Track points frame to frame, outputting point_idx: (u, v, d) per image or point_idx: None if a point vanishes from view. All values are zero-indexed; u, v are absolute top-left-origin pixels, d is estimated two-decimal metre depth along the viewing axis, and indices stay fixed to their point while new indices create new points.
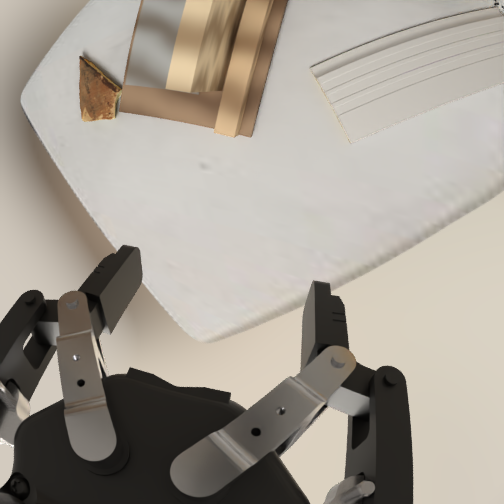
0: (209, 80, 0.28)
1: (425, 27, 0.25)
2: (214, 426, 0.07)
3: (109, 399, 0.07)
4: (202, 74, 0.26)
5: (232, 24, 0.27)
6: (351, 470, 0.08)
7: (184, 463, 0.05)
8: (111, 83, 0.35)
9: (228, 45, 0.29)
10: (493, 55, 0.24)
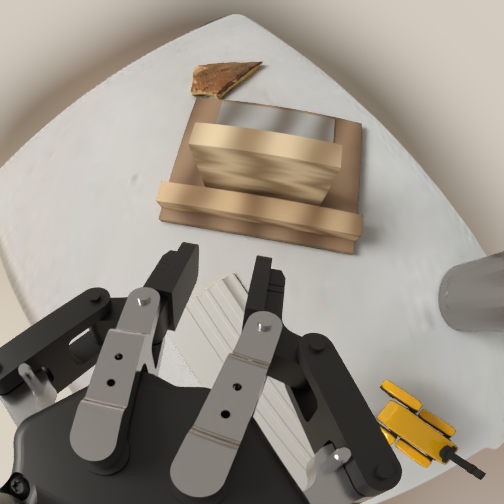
0: (208, 168, 0.32)
1: None
2: None
3: (134, 408, 0.07)
4: (210, 157, 0.29)
5: (274, 191, 0.35)
6: (316, 441, 0.08)
7: (184, 463, 0.05)
8: (226, 89, 0.41)
9: (251, 189, 0.35)
10: (304, 465, 0.31)
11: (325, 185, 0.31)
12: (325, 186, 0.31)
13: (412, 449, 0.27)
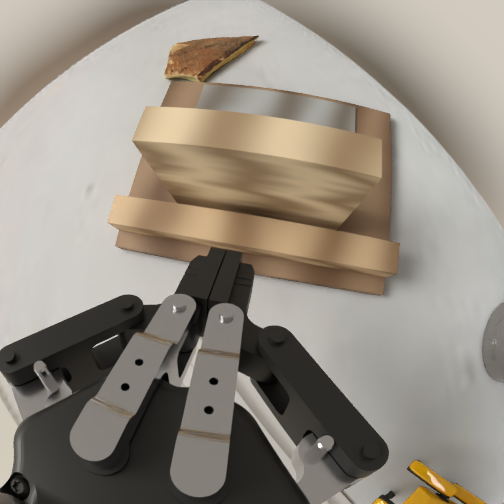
0: (173, 177, 0.21)
1: None
2: None
3: (144, 415, 0.07)
4: (170, 160, 0.18)
5: (273, 208, 0.24)
6: (294, 432, 0.09)
7: (184, 463, 0.05)
8: (210, 69, 0.30)
9: (239, 205, 0.24)
10: None
11: (351, 203, 0.20)
12: (351, 204, 0.20)
13: None
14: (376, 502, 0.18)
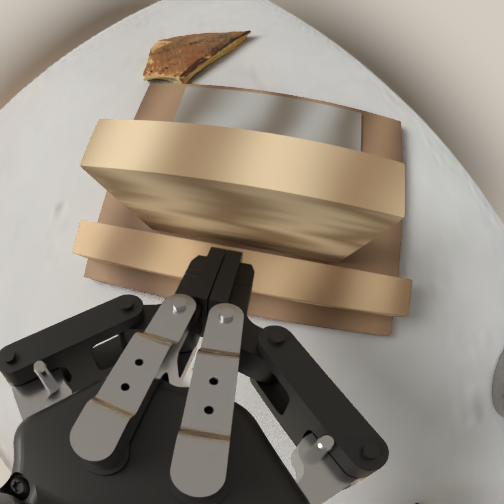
0: (139, 204, 0.17)
1: None
2: None
3: (144, 415, 0.07)
4: (130, 187, 0.14)
5: (262, 239, 0.20)
6: (294, 432, 0.09)
7: (184, 463, 0.05)
8: (194, 69, 0.26)
9: (222, 235, 0.20)
10: None
11: (359, 240, 0.16)
12: (359, 241, 0.16)
13: None
14: None
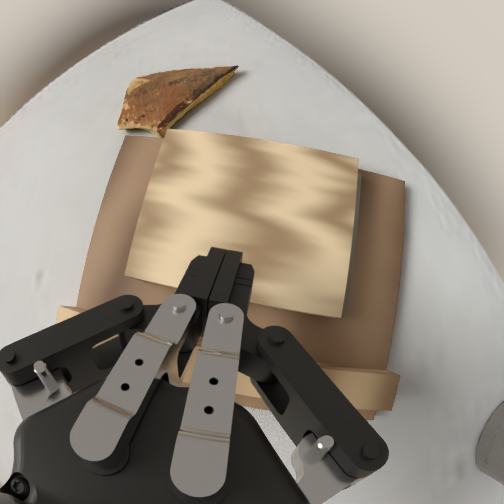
0: (163, 191, 0.20)
1: None
2: None
3: (144, 415, 0.07)
4: (181, 156, 0.21)
5: (260, 258, 0.19)
6: (294, 432, 0.09)
7: (184, 463, 0.05)
8: (174, 118, 0.24)
9: None
10: None
11: (347, 214, 0.20)
12: (348, 218, 0.20)
13: None
14: None
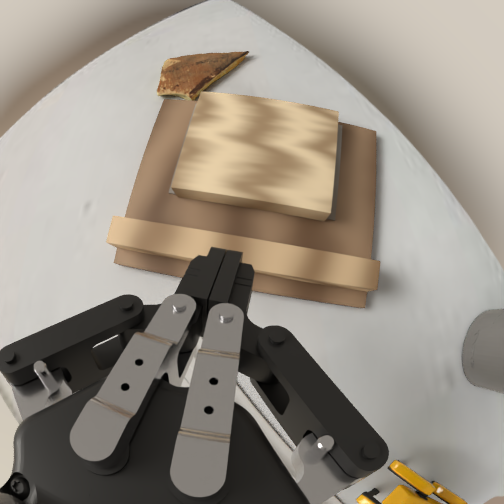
0: (200, 131, 0.27)
1: None
2: None
3: (144, 415, 0.07)
4: (213, 109, 0.28)
5: (271, 172, 0.27)
6: (294, 432, 0.09)
7: (184, 463, 0.05)
8: (201, 87, 0.32)
9: (240, 173, 0.27)
10: None
11: (331, 145, 0.27)
12: (331, 148, 0.27)
13: None
14: (359, 498, 0.21)
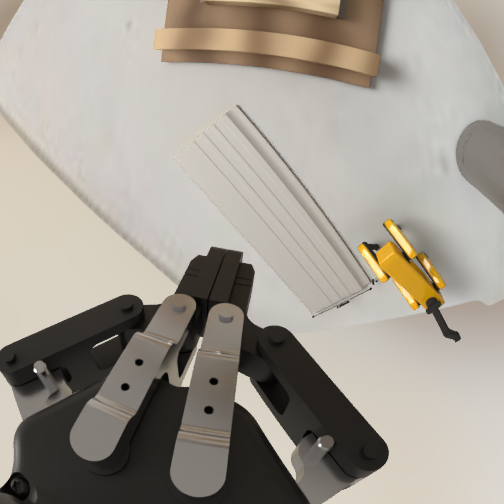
0: None
1: (316, 211, 0.39)
2: None
3: (144, 415, 0.07)
4: None
5: None
6: (294, 432, 0.09)
7: (184, 463, 0.05)
8: None
9: None
10: (314, 278, 0.44)
11: None
12: None
13: None
14: (360, 246, 0.37)
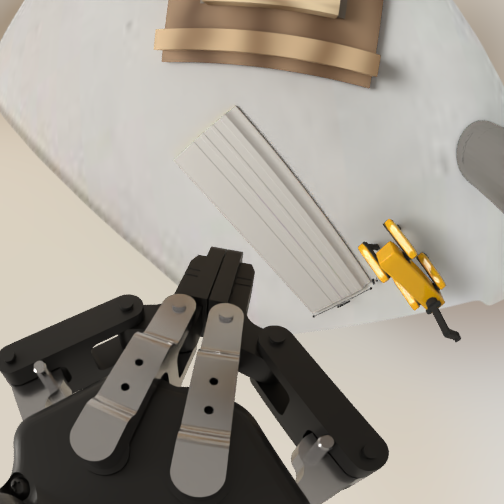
0: None
1: (316, 211, 0.39)
2: None
3: (144, 415, 0.07)
4: None
5: None
6: (294, 432, 0.09)
7: (184, 463, 0.05)
8: None
9: None
10: (314, 278, 0.44)
11: None
12: None
13: None
14: (360, 246, 0.37)
